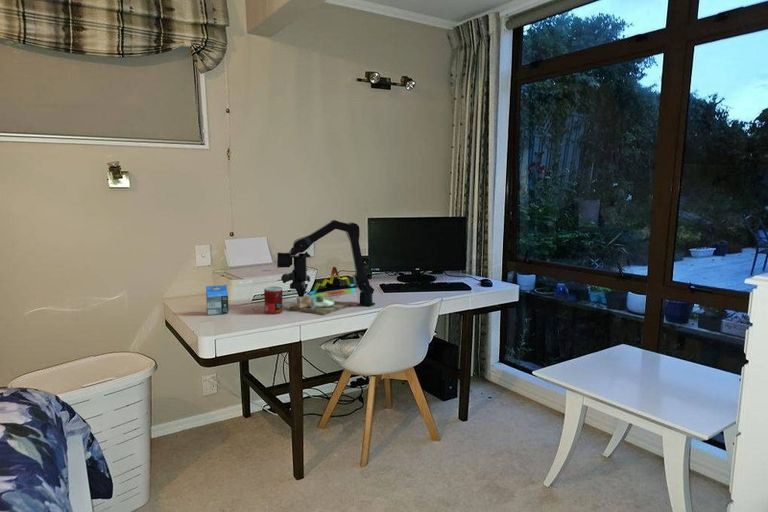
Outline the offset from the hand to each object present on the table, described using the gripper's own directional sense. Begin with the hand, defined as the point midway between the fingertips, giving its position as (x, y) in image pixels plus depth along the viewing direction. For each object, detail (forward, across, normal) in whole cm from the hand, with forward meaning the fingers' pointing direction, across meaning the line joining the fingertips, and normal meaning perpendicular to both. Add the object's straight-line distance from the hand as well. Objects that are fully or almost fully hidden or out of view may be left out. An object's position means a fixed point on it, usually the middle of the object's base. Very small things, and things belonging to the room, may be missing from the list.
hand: (300, 300), depth 221 cm
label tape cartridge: (+4, +10, -35) cm, 37 cm away
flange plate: (+2, -1, +7) cm, 7 cm away
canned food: (+4, +7, -11) cm, 14 cm away
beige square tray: (+4, -2, +9) cm, 10 cm away
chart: (+5, -27, +11) cm, 30 cm away
